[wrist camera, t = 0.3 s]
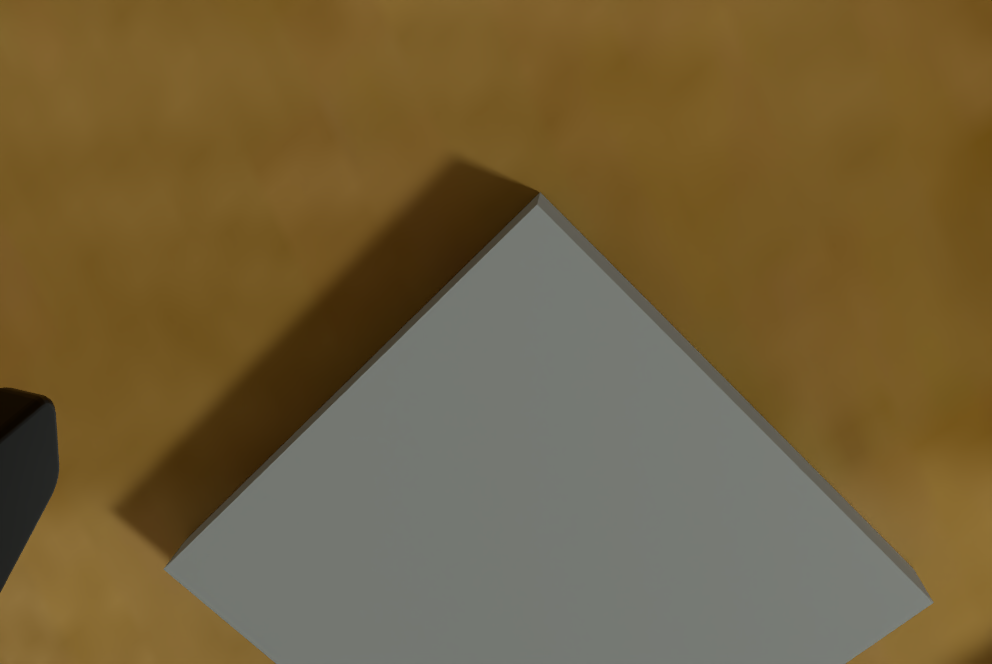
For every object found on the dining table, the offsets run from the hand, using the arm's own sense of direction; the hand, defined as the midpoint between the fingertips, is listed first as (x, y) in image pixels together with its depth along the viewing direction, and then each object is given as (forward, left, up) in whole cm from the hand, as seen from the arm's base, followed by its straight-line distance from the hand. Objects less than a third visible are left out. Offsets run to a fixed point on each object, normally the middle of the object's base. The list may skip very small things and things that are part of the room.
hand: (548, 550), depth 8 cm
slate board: (-7, -6, -15) cm, 18 cm away
